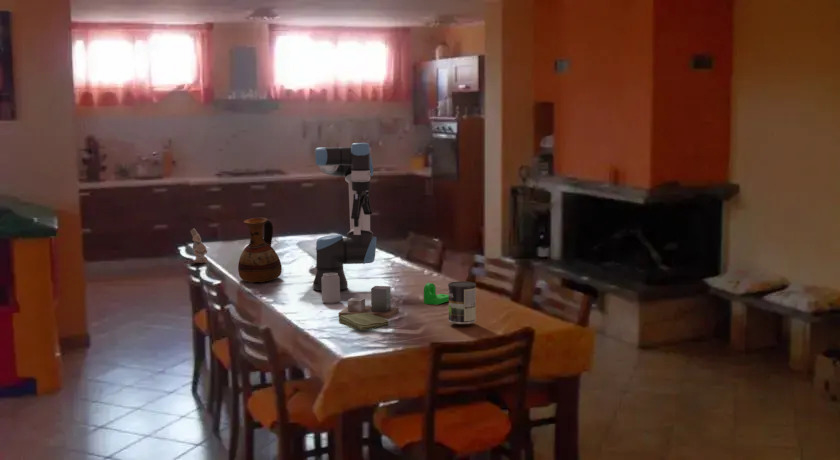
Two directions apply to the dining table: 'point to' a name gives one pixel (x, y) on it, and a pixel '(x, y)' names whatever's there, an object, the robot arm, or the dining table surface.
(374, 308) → the dark grey block
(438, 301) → the mechanical part
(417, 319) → the dining table surface
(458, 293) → the coffee can
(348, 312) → the board
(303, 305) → the dining table surface
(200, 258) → the figurine
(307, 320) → the dining table surface
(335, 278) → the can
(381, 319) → the washcloth
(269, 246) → the ceramic pitcher
